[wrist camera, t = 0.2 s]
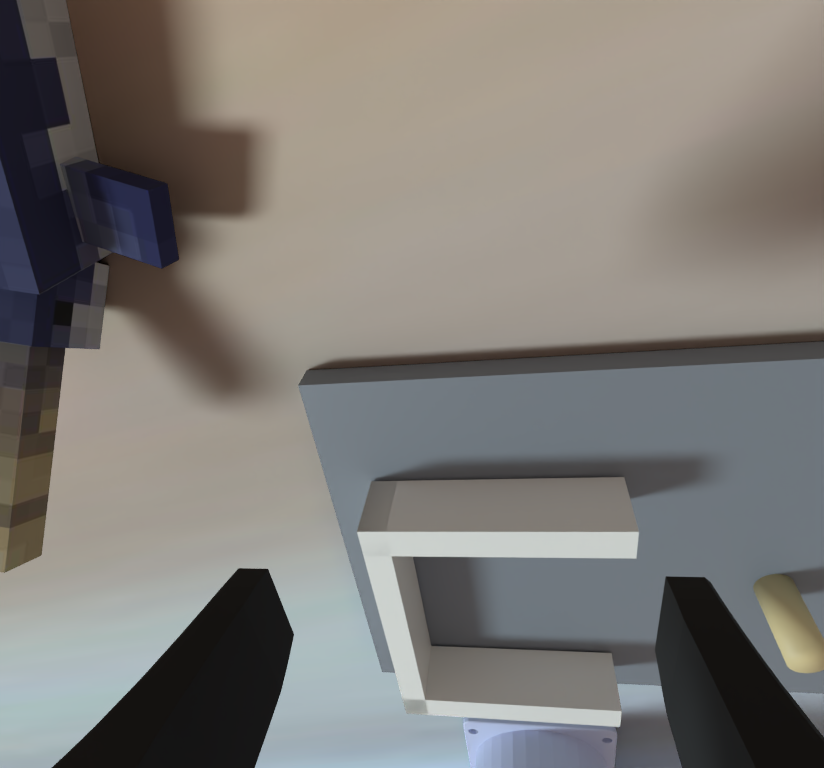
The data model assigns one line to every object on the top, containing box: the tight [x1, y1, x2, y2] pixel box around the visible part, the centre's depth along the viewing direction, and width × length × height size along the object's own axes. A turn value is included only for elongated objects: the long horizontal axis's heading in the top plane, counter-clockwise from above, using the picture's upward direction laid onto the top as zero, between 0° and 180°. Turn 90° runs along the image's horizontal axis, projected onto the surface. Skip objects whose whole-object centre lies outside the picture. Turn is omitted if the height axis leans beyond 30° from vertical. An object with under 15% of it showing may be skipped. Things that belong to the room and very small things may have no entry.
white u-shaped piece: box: [357, 477, 639, 727], centre depth 22 cm, size 11×9×2 cm
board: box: [298, 341, 824, 694], centre depth 20 cm, size 17×28×4 cm, turn 98°
